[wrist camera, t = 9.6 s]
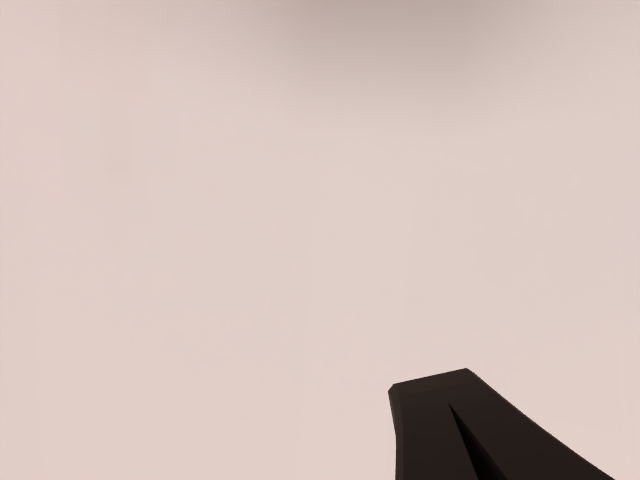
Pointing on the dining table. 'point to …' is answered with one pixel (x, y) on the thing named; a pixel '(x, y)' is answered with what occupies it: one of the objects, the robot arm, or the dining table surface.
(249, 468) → the dining table surface
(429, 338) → the dining table surface
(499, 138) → the dining table surface
